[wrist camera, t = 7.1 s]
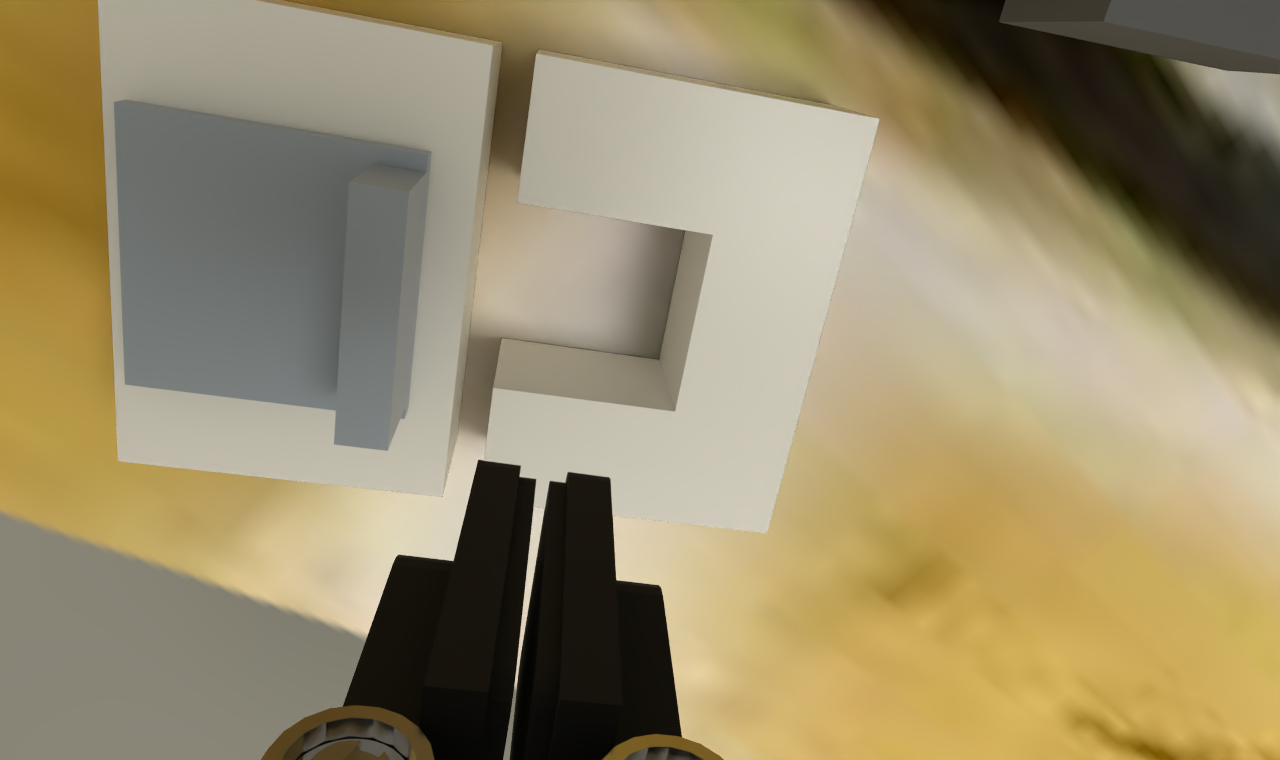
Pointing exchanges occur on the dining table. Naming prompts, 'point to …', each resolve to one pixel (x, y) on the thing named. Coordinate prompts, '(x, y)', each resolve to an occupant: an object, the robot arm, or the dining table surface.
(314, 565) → the dining table surface
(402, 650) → the robot arm
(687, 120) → the socket
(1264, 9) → the plug
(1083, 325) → the dining table surface
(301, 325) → the plate
